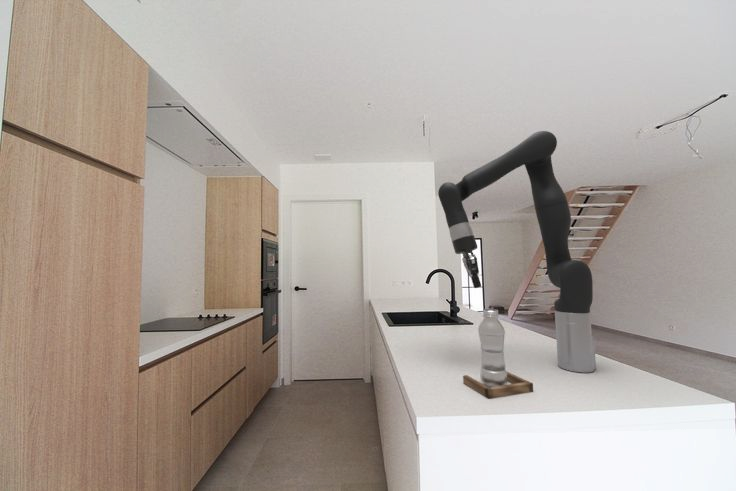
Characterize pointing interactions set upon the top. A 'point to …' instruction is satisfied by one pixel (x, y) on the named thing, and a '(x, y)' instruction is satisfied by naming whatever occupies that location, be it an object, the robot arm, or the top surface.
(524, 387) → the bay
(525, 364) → the top surface
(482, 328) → the plastic bottle
